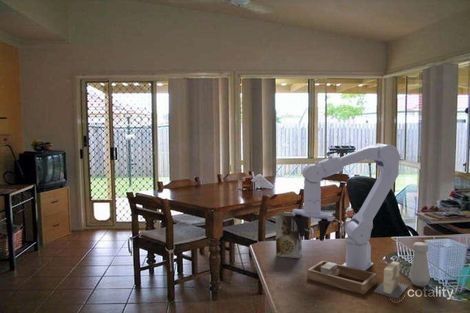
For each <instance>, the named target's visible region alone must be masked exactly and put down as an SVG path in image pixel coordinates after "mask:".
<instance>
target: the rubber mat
mask: <svg viewBox="0 0 470 313" xmlns="http://www.w3.org/2000/svg"><path fill="white" fill-rule="evenodd" d="M408 288H409V285H407V284H402V283H399V285H398V286H397V287H396V288H395V289H394V291H393V292H392V293H391V294H389V293H385V292H383V289H384V281H382V282H381V283H380V284H379V285H378V286H377V287H376V288H375V289H374V290H373V293H375V294H379V295H383V296H386V297H390V298H394V299H396V300H397V299H398V300H399V298H400V297H401V296H402V295H403V294H404V293H405V291H407V289H408Z"/></svg>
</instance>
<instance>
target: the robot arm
mask: <svg viewBox="0 0 470 313" xmlns="http://www.w3.org/2000/svg"><path fill="white" fill-rule="evenodd" d="M401 158H402V157H401V154H400V152H399V150H398V148H397V147H396V146H395V145H392V144H386V143H383V142H381V143H380V142H377V143H375V144H371V145H367V146H365V147H363V148H360V149H358V150H355V151H353V152H350V153H348V154H346V155H344V156H341V157H339V156H337V155H334V156H333V155H328V156H327V158H326V159H325V158H324V159H322V160H320V161H318V160H316V161H314V163H315V164H314V163H310V164H309V163H308V164H307V165H306V166H304V167H303V169H302V173H301V174H302V177H303V178H304V179H303V184H304V185H303V209H301V208H300V209H299V208H294V209H292V212H293V215H295V217H294V221H295V222H296V225H297V227H298V230H299V234H300V237H302V238H304V237H305V234H306V220H307V218H310V219H311V218H313V219H319V220H318V221H317V223H318V229H319V237H318V238H319V241H320V242H323V241H325V238H326V233H327V231H328V228H329V226H330V225H331V223H332V221H333V219H334V214H331V213H327V212H324V211H321V209H322V203H321V202H322V201H321V200H322V192H321V191H322V187H321V182H322V180H323V178H324V179H325V178H327V177H330V176H333V175H335V174H338V173H341V172H342V171H343V169H344V168H345V167H347V166H349V165H352V164H356V163H358V162H361V161H364V160H371V161H374V162H375V163H376V164H377V167H378V169H379V172H380V173H379V176H378V177H377V179H376V180H375V182H374V184H373V186H372V188H371V189H370V190H369V193H368V195H367V197H366V198H365V200H364V202H363V203H362V206H361V207H360V208H359V210H358V212H357V213H354V214H353V215H352V218H350V220H348V221H347V222H346V223H345V224H344V232H345V234H346V236H347V237H346V238H345V262H344V263H343V264H342V265H343V266H347V267H352V268H356V269H360V270H364V271H367V270H369V268H371V267H372V266H374V262H371V260H372V259H371V257H372V255H371V254H372V246H371V243H370V242H369V240H371V233H372V229H373V228H374V224H373V220H374V218H375V216H376V215H377V213H378V212H379V210H380V208H381V206H382V205H383V203H384V202H385V200H386V198H387V195H388V194H389V192H390V191H391V189H392V187H393V185H394V184H395V183H396V180H397V178H398V177H399V174H400V173H399V170H400V168H399V167H400V164H399V163H400V160H401Z"/></svg>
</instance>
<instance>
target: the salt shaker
mask: <svg viewBox="0 0 470 313" xmlns="http://www.w3.org/2000/svg"><path fill="white" fill-rule="evenodd" d="M412 250H413V251H414V254H413V259H412V262H411V266H410V270H409V274H408V277H409V278H410V281H411V284H412V285H414V286H416V287H423V288H424V287H427V286H428V283H429V282H430V279H431V276H430V275H431V274H430V269H429V268H430V267H429V262H428V257H427V255H428V254H427V252H429V245H428V244H427V243H425V242H421V241H416V242H414V243H413V244H412Z"/></svg>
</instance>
